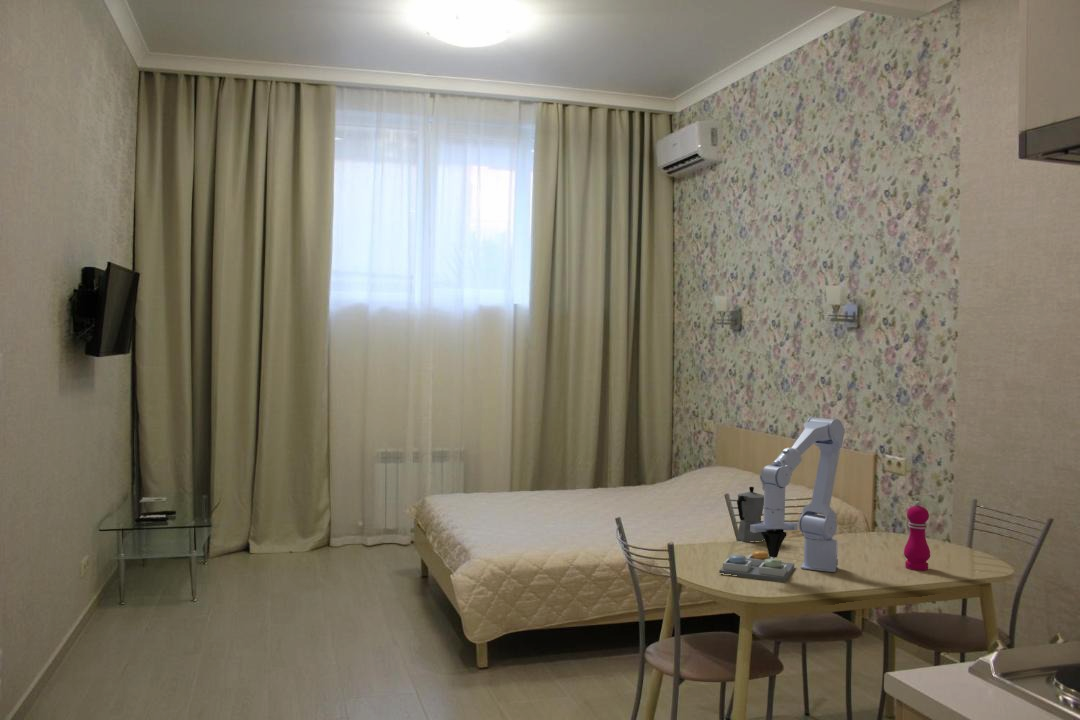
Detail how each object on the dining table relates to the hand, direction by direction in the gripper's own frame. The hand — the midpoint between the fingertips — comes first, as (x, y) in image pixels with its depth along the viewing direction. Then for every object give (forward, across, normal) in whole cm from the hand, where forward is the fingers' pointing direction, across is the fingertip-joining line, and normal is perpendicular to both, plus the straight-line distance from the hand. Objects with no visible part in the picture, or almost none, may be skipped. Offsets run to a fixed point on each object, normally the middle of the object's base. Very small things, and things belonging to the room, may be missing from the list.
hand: (773, 556), depth 245 cm
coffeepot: (+6, -23, -44) cm, 50 cm away
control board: (+6, 0, -7) cm, 9 cm away
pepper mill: (+6, -48, +4) cm, 49 cm away
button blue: (+3, +7, -7) cm, 10 cm away
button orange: (+3, -3, -10) cm, 11 cm away
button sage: (+3, 0, 0) cm, 3 cm away
